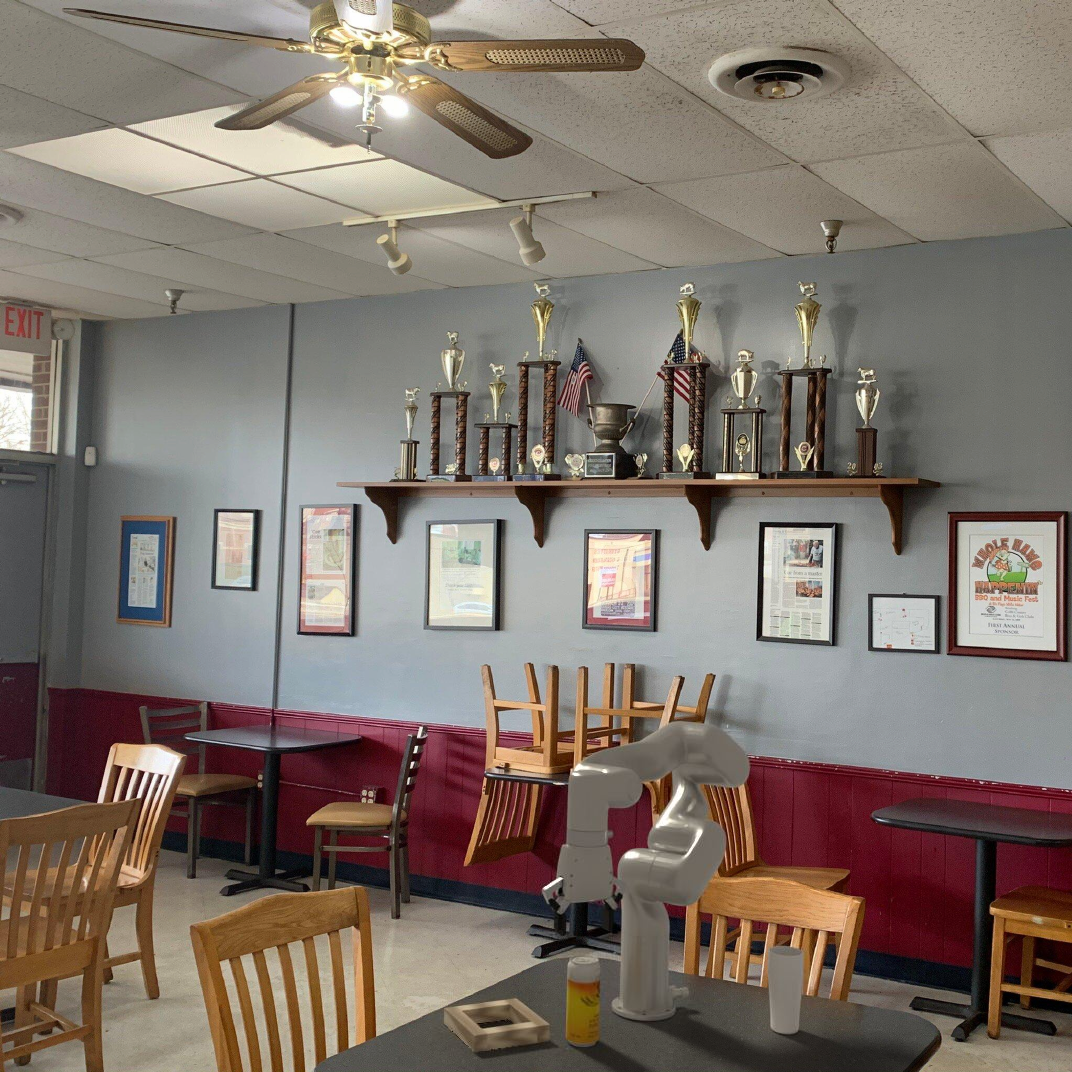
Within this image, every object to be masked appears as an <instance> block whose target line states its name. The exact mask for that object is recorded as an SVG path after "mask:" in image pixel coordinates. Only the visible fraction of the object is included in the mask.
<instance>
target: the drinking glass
mask: <svg viewBox="0 0 1072 1072" xmlns="http://www.w3.org/2000/svg"><path fill="white" fill-rule="evenodd" d="M804 955H805V954H804V951H803V950H801V949H800V948H797V947H794V946H787V945H775V946H771V947H769V948H768V950H767V982H768V996H769V1011H770V1012H769V1013H770V1015H769V1016H770V1029H771V1030H772V1031H773V1032H776V1033H778V1034H780V1035H781V1034H782V1035H795V1034H796V1033H798V1031H799V1030H800V1016H801V1015H800V1013H801V1005H802V1004H801V1003H802V993H803V984H804V971H805V969H804V968H805V960H804V959H805V958H804Z"/></svg>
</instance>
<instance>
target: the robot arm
mask: <svg viewBox="0 0 1072 1072" xmlns="http://www.w3.org/2000/svg"><path fill="white" fill-rule="evenodd" d="M750 770H751V764H750V760H749V757H748V754H747V753H746V751H745V750H744V749H743V747H741V745H739V743H737V741H736V740H734V739H733V737H732V736H731V735H729V734H728V733H727V732H726V731H724V730H723V729H722V728H720V727H718V726H716V725H715V724H712V723H700V722H694V721H693V722H692V721H684V720H683V721H682V720H680V721H679V720H678V721H676V720H675V721H672V722H671V721H670V722H668V723H666V724H665V725H663V726H661V727H660V728H659V729H657V730H655V731H653V732H652V733H650V734H649V735H647V736H646V737H644V738H643V739H641V740H640V741H635V742H630V743H625V744H622V745H619V746H614V747H611V748H610V747H609V748H605V749H602V750H599V751H597V752H594V753H592V754H590V755H588V756H587V757H586V758H584V759H582V760H581V761H579V762H578V763H577V764H576V765H575V767H573V769H572V771H571V773H570V774H569V777H568V785H567V786H568V787H567V789H568V792H567V815H566V816H567V817H566V818H567V821H566V843H565V844H562V845H561V847H560V852H559V856H558V857H559V858H558V862H557V868H556V869H557V871H556V879H555V880H553V881H551V882H550V883H549V884H547V885H546V886H544V887H543V888H542V889H541V892H542V895H543V897H544V899H545V902H546V904H547V905H548V906H549V907H550V908H551V911H553V912H554V913H553V929H554V931H555V933H556V934H558V935H559V936H561V937H565V936H566V935H567V914H566V913H565V911H566V910H567V908H568V907H569V906H570V904H571V903H572V904H573V903H574V904H575V903H577V904H578V903H588V902H597V901H599V902H601V901H602V903H603V905H602V906H601V918H600V919H601V922H600V925H601V927H600V928H602V929H603V930H605V931H608V932H613V929H614V928H613V926H614V924H615V910H617V908H618V905H619V903H620V902H621V903H620V904H621V931H620V932H621V933H620V934H621V935H620V936H621V937H620V971H619V972H620V975H619V976H620V978H619V981H620V983H619V996H618V997H615V998H614V999H613V1000H612V1001H611V1009H612V1011H613V1013H615V1014H616V1015H618V1016H620V1017H622V1018H627V1019H629V1020H633V1021H634V1020H635V1021H642V1022H643V1021H644V1022H645V1021H646V1022H655V1021H663V1020H667V1019H670V1018H671V1017H673V1016H675V1014H676V1004H675V1003H674V1002H675V1001H676V1000H677V999H683V998H684V999H685V998H688V997H689V996H690V990H689V988H688V987H687V986H683V987H677V986H676V985H669V965H670V963H669V959H670V955H669V953H670V919H669V914H668V911H667V909H666V907H665V904H664V903H666V904H670V905H674V906H679V907H680V906H681V907H689V906H693V905H694V904H695V903H696V902H697V901H699V900H700V898H701V897H702V895H703V893H704V892H705V891H706V889H707V887H708V885H710V882H711V880H712V879H713V877H714V875H715V874H716V873H717V871H718V869H719V867H720V866H721V864H722V862H723V859H724V856H725V852H726V848H727V836H726V832H725V830H724V828H723V827H722V826H721V824H719V823H718V822H717V821H714V820H712V819H708V818H709V815H710V808H709V807H710V806H709V803H708V800H707V798H706V796H705V795H704V793H703V790H702V788H701V785H706V786H714V787H721V788H722V787H723V788H731V789H733V788H739V787H741V786H743V785H744V784H745V783H746V782H747V780H748V778H749V775H750ZM670 773H671V774H672V775H671V777H672V796H671V799H670V800H669V802H668V803H667V805H666V807H665V808H664V809H663V810H662V812H661V814H660V815H659V817H658V818H657V820H656V821H655V823H653V825H652V827H651V829H650V831H649V833H648V836H647V846H648V848H643V847H640V848H637V847H636V848H631V849H629V850H627V851H626V852H625V853H623V855H622V856H621V857H620V860H618V861H619V862H618V865H617V877H615V876H614V868H613V859H612V851H611V847H610V845H609V844H608V843H609V839H611V838H613V837H614V831H613V830H609V828H608V821H609V820H608V817H609V816H608V813H609V809H610V808H612V809H613V808H614V809H626V808H629V807H632V806H634V805H635V804H636V803H637V802H638V801H639V799H640V797H641V796H642V794H643V793H642V792H643V783H648V782H649V783H650V782H655V781H659V780H661V779H664V777H666V776H667V775H668V774H670ZM614 885H615V886H616V889H615V891H614ZM613 891H614V892H613ZM554 893H555V896H557V898H556V899H555V898H554V895H553V894H554ZM673 1001H674V1002H673Z"/></svg>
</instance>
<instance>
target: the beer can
mask: <svg viewBox="0 0 1072 1072" xmlns="http://www.w3.org/2000/svg"><path fill="white" fill-rule="evenodd" d="M599 961H600V960H599V957H596V956H593V955H588V954H576V955H573V956H571V957H570V958H569V961H568V962H567V973H566V974H567V975H566V976H567V978H566V1009H565V1010H566V1017H565V1019H566V1021H565V1038H566V1040H567V1041H568V1043H569V1044H570V1045H571V1046H574V1047H579V1048H588V1047H593V1046H594V1045H596V1043H597V1042H598V1040H599V1039H600V1010H601V1009H600V1008H601V1007H600V1002H601V998H600V997H601V967H602V966H601V964H600V962H599Z"/></svg>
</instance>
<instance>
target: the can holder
mask: <svg viewBox="0 0 1072 1072" xmlns="http://www.w3.org/2000/svg"><path fill="white" fill-rule="evenodd" d="M443 1011H444V1012H443V1025H444V1024H445V1025H446V1026H447V1027H448V1028H447V1027H446V1026H445V1025H444V1026H445V1027H446V1028H447V1029H449V1031H451V1032H452V1031H453V1032H452V1033H453V1034H454V1033H455V1034H456V1035H457V1036H458V1037H459V1038H460V1039H461V1040H462V1041H463V1042H464V1043H465V1044H466V1045H468V1046H469V1047H468V1046H467V1047H468V1048H469V1049H470V1048H471V1049H472V1050H471V1049H470V1050H471V1051H472V1052H473V1053H474V1052H476V1053H481V1051H482V1052H486V1051H487V1052H488V1051H495V1050H499V1049H498V1048H501V1049H506V1047H508V1048H513V1047H512V1046H514V1047H519V1046H518V1045H521V1046H526V1045H533V1044H540V1043H546V1042H547V1043H548V1042H550V1030H551V1029H550V1027H551V1024H550V1023H548V1021H546V1020H545V1019H543V1018H542V1017H541V1016H539V1015H538V1014H537V1013H536V1012H534V1011H533V1010H532V1009H530V1008H529V1007H528V1006H527V1005H525V1003H523V1002H522V1001H520V1000H519V999H518V998H517V997H516V998H515V997H514V998H508V999H502V1000H493V1001H486V1002H480V1003H473V1004H472V1003H471V1004H464V1005H458V1006H457V1005H456V1006H449V1007H444V1008H443ZM507 1019H508V1020H507ZM500 1020H505V1021H510V1020H511V1021H512V1022H513V1023H512V1022H511V1021H510V1022H511V1023H512V1024H508V1025H507V1024H506V1025H500V1026H494V1027H493V1026H492V1027H486V1028H482V1027H480V1025H479V1024H477V1023H483V1022H491V1023H493V1022H492V1021H498V1022H501V1021H500ZM455 1034H454V1035H455ZM456 1035H455V1036H456ZM457 1036H456V1037H457ZM458 1037H457V1038H458ZM459 1038H458V1039H459ZM460 1039H459V1040H460ZM461 1040H460V1041H461ZM462 1041H461V1042H462ZM463 1042H462V1043H463ZM464 1043H463V1044H464ZM465 1044H464V1045H465ZM466 1045H465V1046H466ZM491 1049H493V1050H491ZM494 1049H495V1050H494ZM479 1051H480V1052H479Z"/></svg>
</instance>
